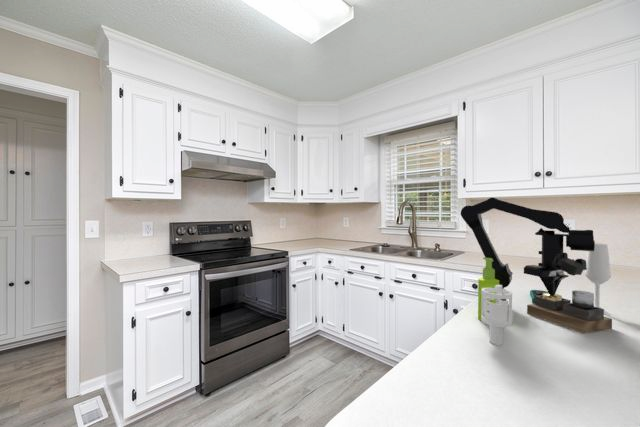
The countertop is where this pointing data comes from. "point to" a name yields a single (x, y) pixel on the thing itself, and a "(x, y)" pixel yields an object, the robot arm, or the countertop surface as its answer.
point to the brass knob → (552, 297)
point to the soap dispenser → (486, 283)
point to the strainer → (496, 312)
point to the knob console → (570, 315)
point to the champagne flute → (598, 269)
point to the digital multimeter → (536, 294)
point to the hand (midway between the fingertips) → (552, 295)
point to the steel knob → (583, 299)
